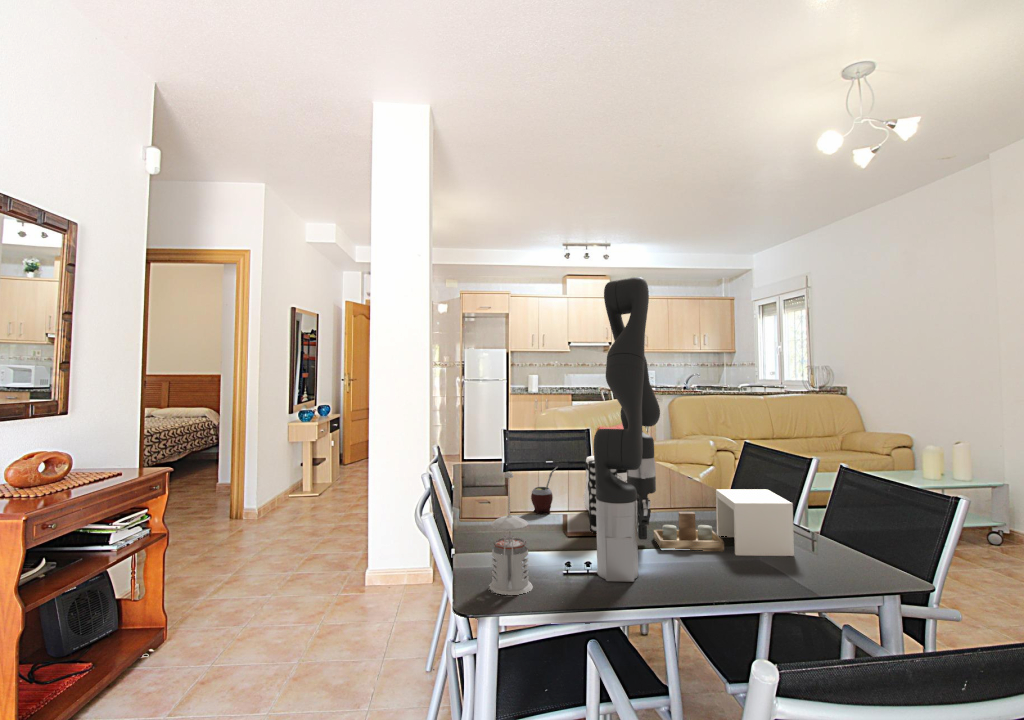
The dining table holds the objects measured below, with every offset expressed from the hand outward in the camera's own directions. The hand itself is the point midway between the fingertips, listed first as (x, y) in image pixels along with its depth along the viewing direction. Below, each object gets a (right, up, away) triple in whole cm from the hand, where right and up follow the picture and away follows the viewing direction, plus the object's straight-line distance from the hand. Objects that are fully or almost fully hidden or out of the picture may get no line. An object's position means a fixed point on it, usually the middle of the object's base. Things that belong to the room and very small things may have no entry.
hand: (642, 538), depth 146 cm
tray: (+12, -1, -1) cm, 12 cm away
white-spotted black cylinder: (-8, -2, +13) cm, 15 cm away
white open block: (+29, -1, -2) cm, 29 cm away
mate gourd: (-25, -3, +34) cm, 42 cm away
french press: (-35, -2, -29) cm, 46 cm away
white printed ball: (-3, -3, +32) cm, 32 cm away
